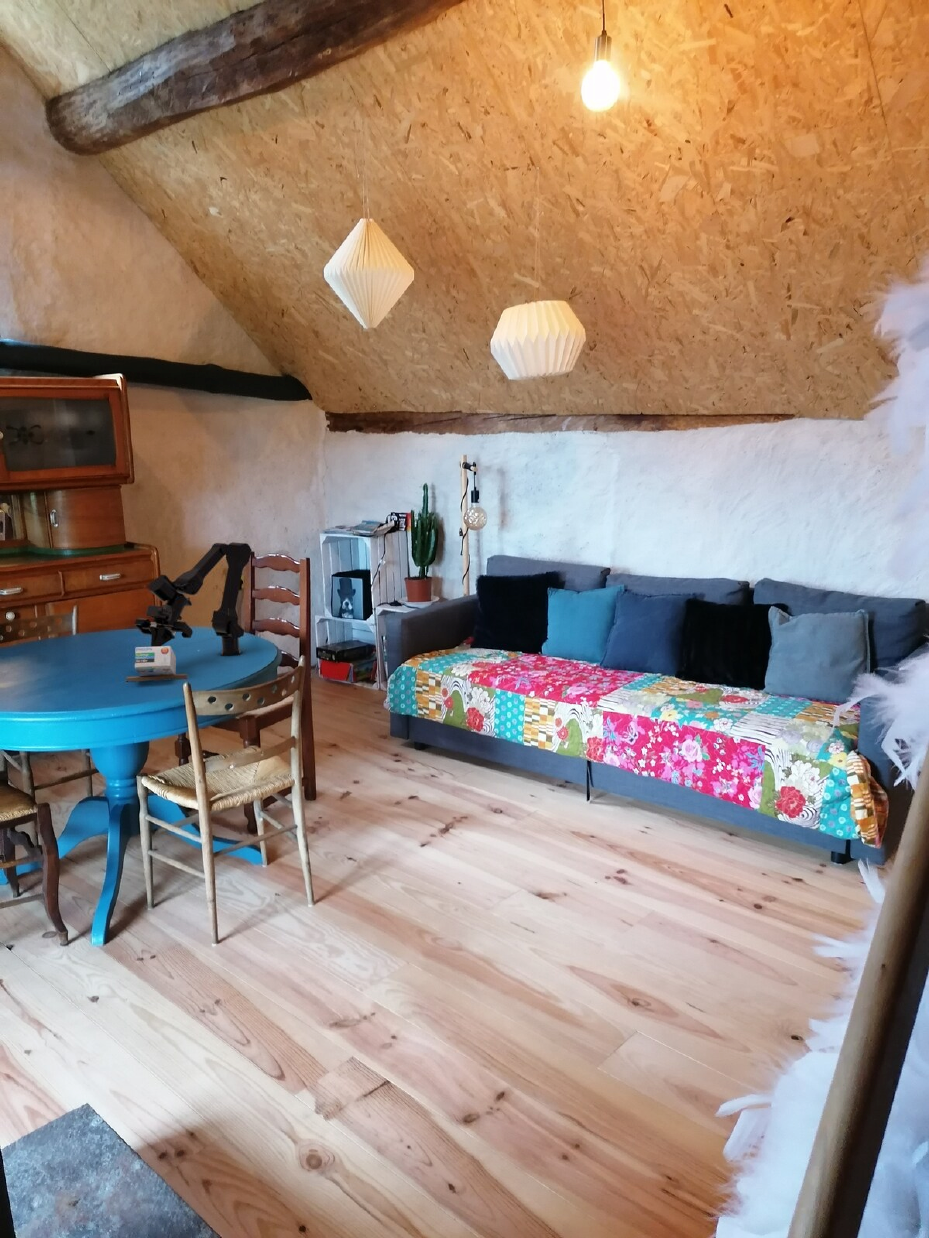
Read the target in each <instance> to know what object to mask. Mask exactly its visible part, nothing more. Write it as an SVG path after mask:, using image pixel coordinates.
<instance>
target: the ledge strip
mask: <svg viewBox="0 0 929 1238" xmlns="http://www.w3.org/2000/svg"><path fill="white" fill-rule="evenodd" d="M188 677H189V675H188V673H178V674H177V673H175V674H172V675H153V676H140V675H139V676H126V678H125V682H126V681H136V682H149V681H148V680H154V681H166V680H165V679H173V680H187V679H188ZM146 680H147V681H146Z"/></svg>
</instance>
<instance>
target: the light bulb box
mask: <svg viewBox="0 0 929 1238" xmlns="http://www.w3.org/2000/svg"><path fill="white" fill-rule="evenodd" d="M134 653H135V655H134V669H135V670H136V672H137V673H138V675H139V676H153V675H172V674H176V670H177V669H176V666H177V656H176V654H175V652H174V651H173V648H172V647H171V646H170V645H166V646H164V645H162V646H159V647H151V646H141V647H140V646H137V647H136V646H135V652H134Z"/></svg>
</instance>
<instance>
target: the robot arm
mask: <svg viewBox="0 0 929 1238" xmlns="http://www.w3.org/2000/svg"><path fill="white" fill-rule="evenodd" d="M251 556H252V548H251V546H250V545H249V544H248V543H246V542H233V541H232V542H230V543H229V544H227V543H224V542H223V543H222V542H215V543H213V544H212V545H211V548H210V549H209V550H207V552H206V553H205V554H204V555H203V557H202V558H201V559H199V561H198V562H197V563H196V564H195V565H194V566H193V567H192V568H191V569H190V570H188V571H185V572H183V573H182V574H180V575H179V576H178V577H176V579H175V580H174V581H172V580H170V578H169V577H168V576H167V575H166V574H160V575H159V577H156V578H155V579H153V580H152V581H150V583H149V585H148V590H149V592H151V593H152V594H153V595H154V596H156V597H157V598H158V599H159V600H160V601H161V602H165V604H163V605H162V606H160V605H159V606H158V605H147V609H146V611H145V612H146V613H145V616H147V617H151V618H152V621H153V622H152V621H150V620H149V618H140V617H139V618H136V619H135V622H134V624H133V625H134V627H135V628H136V629H138V630H139V632H141V634H143V635H149V636H150V637H151V639H150V640H151V641H150V647H159V646H164V645H165V644H166V643H168V642H169V641H171V640H174V639H176V636H175V635H176V633H177V632H178V633H181V636H182V638H183V639H184V638H185V639H190V638H191V637H192V636H193V629H192V627H191V626H190V625H189V624H188V623H187V622H186V621H182V619H183V617H182V616H181V614H182V612H183V610H184V608H185V607H188V606H189V607H191V606H192V604H193V603H192V601H191V598H190V597H187V596H185V595H189V596H195V595H196V594H198V592H200V590H201V588H202V586H203V585H204V580H205V578H206V576H207V575H209V574H210V572H211V571H212V570H213V569H214V568H215V566H217V564H218V563H219V562H221V560H222V559H223V557H225V560H226V563H227V573H226V578H225V583H224V589H223V594H222V599H221V604H220V607H219V609H217V610H213V612H212V619H211V621H210V622H211V623H212V624H211V627H212V629H213V630H214V632H215V635H216V637H221V647H222V648H221V652H220V656H233V655H234V656H237V655H240V654H241V652H242V649H241V648H240V640H239V638H242V637H244V635H245V629H244V628H243V627H242V626H241V625H240V624H239V616H238V613H237V610H236V608H237V603H238V599H239V597H238V596H239V592H240V586H241V582H242V576H243V571H244V568H245V567H246V566H247V564H249V562H250V558H251Z"/></svg>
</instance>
